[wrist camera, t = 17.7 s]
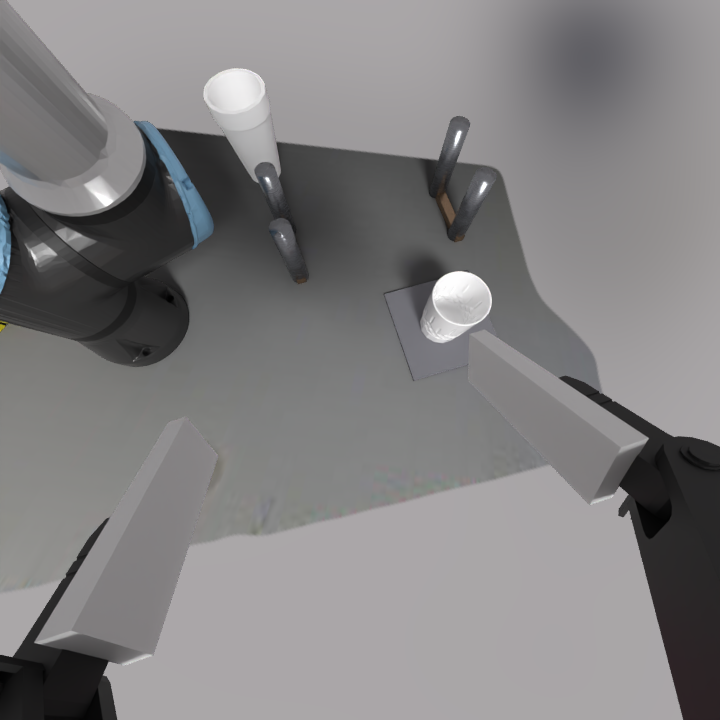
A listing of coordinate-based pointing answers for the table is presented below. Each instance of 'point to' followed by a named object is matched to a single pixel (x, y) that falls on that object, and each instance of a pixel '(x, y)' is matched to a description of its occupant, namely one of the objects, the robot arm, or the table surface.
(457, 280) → the white cup
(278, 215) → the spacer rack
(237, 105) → the foam cup
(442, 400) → the table surface
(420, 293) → the mat
